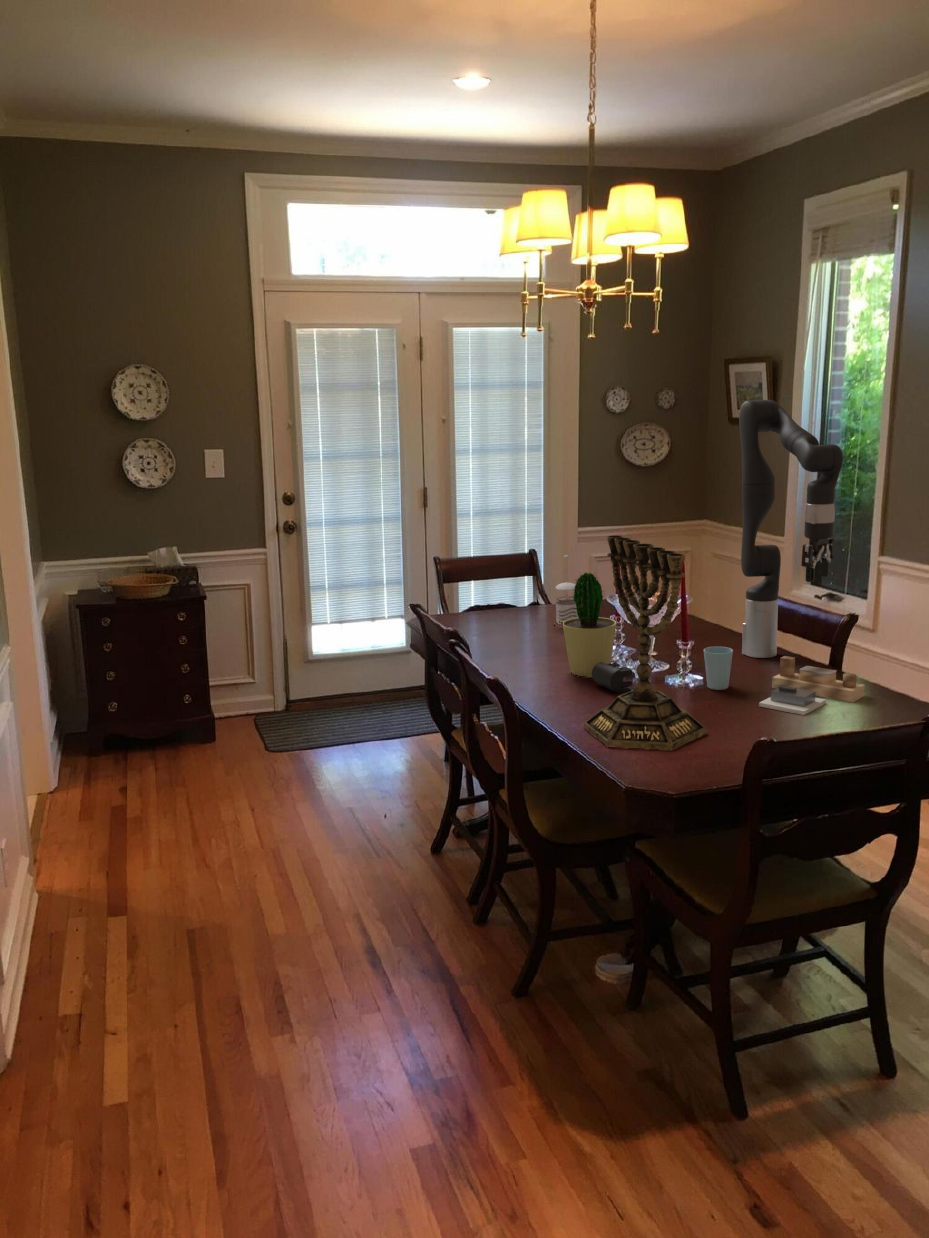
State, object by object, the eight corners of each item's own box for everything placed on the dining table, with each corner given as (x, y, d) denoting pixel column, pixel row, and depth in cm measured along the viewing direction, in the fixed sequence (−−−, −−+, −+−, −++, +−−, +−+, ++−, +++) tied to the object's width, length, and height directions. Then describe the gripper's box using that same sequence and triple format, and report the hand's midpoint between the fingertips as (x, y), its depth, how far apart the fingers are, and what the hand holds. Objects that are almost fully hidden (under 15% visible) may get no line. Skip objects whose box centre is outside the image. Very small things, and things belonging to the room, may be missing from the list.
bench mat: (759, 706, 255) (759, 702, 255) (781, 695, 263) (781, 691, 263) (804, 715, 247) (804, 711, 246) (825, 703, 255) (825, 699, 255)
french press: (551, 623, 356) (549, 553, 351) (583, 621, 357) (581, 551, 352) (556, 629, 346) (554, 558, 341) (589, 627, 348) (588, 556, 342)
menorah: (730, 748, 226) (733, 551, 216) (627, 763, 220) (625, 560, 210) (658, 703, 261) (658, 531, 251) (567, 715, 254) (564, 539, 245)
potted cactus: (625, 675, 287) (625, 572, 281) (576, 682, 283) (573, 577, 277) (603, 662, 302) (602, 564, 295) (555, 668, 298) (553, 568, 291)
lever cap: (770, 700, 256) (771, 688, 255) (781, 694, 260) (782, 682, 259) (804, 707, 250) (804, 694, 249) (815, 701, 254) (815, 688, 253)
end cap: (591, 686, 278) (591, 663, 277) (613, 682, 281) (613, 659, 280) (610, 695, 269) (610, 671, 268) (633, 691, 272) (633, 667, 271)
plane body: (772, 687, 270) (772, 659, 268) (784, 681, 275) (785, 653, 273) (852, 702, 255) (853, 672, 253) (864, 695, 259) (865, 666, 258)
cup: (711, 692, 268) (712, 654, 266) (698, 684, 275) (698, 648, 273) (737, 689, 270) (738, 651, 268) (723, 682, 277) (723, 645, 275)
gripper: (818, 515, 278) (815, 573, 281) (793, 522, 268) (791, 582, 272) (844, 517, 272) (842, 576, 276) (820, 524, 263) (818, 585, 266)
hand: (817, 578), depth 274 cm, fingers open, 8 cm apart
